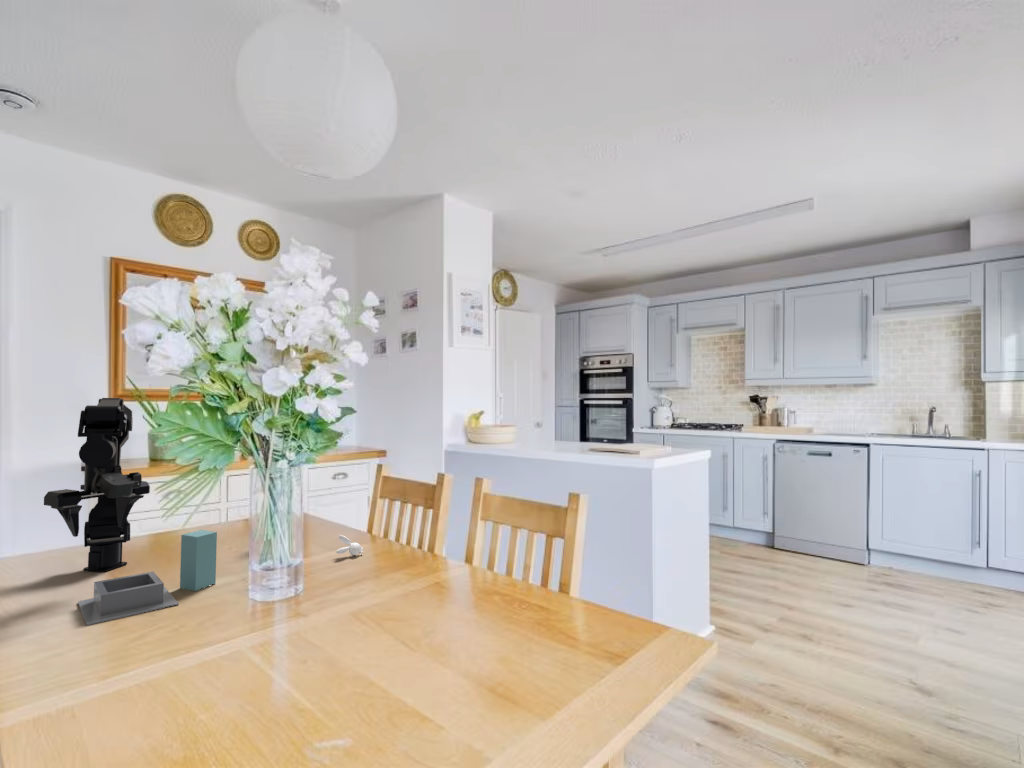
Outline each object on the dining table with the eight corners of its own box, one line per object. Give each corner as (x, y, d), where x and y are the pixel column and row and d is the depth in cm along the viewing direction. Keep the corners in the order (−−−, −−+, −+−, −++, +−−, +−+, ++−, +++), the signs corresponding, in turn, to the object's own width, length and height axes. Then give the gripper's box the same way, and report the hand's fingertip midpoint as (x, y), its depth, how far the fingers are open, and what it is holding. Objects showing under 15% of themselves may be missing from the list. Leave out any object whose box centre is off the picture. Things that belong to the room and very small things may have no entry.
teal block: (179, 588, 121) (181, 534, 121) (200, 581, 125) (201, 529, 126) (195, 591, 119) (197, 537, 119) (215, 584, 124) (216, 532, 124)
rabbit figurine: (365, 558, 145) (338, 548, 142) (357, 566, 147) (330, 557, 143) (367, 541, 150) (341, 531, 147) (359, 550, 152) (334, 540, 148)
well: (78, 603, 111) (78, 581, 112) (162, 586, 122) (163, 566, 122) (86, 625, 101) (87, 601, 101) (178, 605, 111) (179, 583, 111)
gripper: (76, 468, 108) (73, 546, 108) (166, 459, 125) (164, 526, 125) (43, 465, 112) (40, 540, 112) (135, 456, 130) (133, 521, 129)
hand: (98, 531), depth 119 cm, fingers open, 9 cm apart
